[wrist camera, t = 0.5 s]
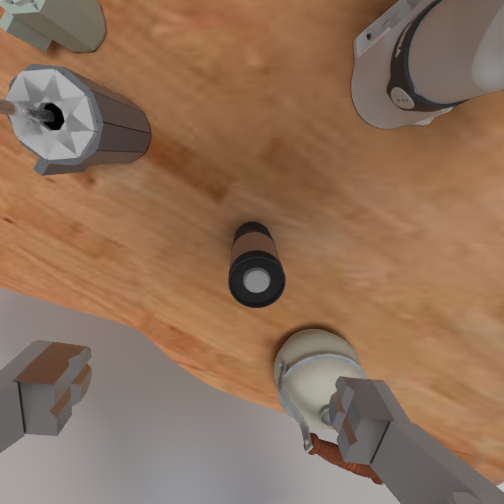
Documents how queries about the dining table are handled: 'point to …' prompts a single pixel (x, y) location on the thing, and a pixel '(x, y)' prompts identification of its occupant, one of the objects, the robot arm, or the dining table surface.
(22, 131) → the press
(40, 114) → the plunger
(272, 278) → the travel mug
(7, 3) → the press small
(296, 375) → the kettle
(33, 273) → the dining table surface
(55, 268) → the dining table surface
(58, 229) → the dining table surface
